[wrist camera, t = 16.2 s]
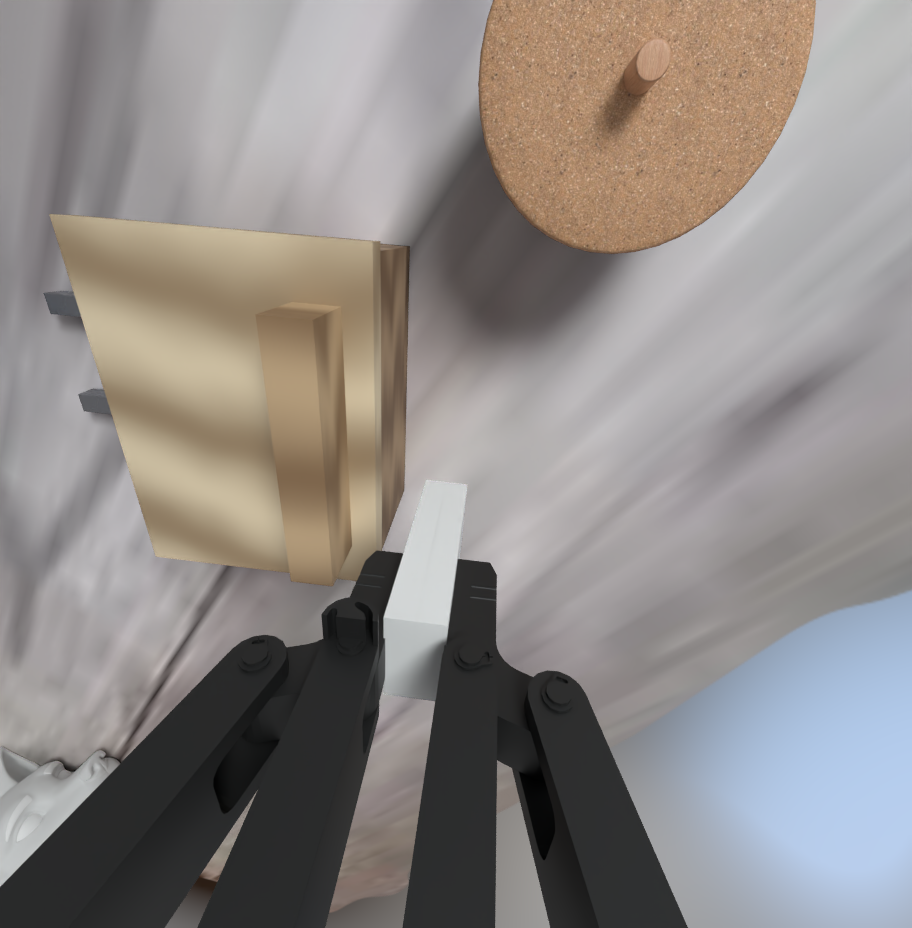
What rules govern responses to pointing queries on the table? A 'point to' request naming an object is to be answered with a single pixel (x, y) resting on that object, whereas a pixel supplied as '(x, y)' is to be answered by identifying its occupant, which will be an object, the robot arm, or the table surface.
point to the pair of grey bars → (68, 306)
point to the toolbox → (393, 375)
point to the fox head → (40, 801)
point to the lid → (240, 387)
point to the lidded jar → (635, 109)
